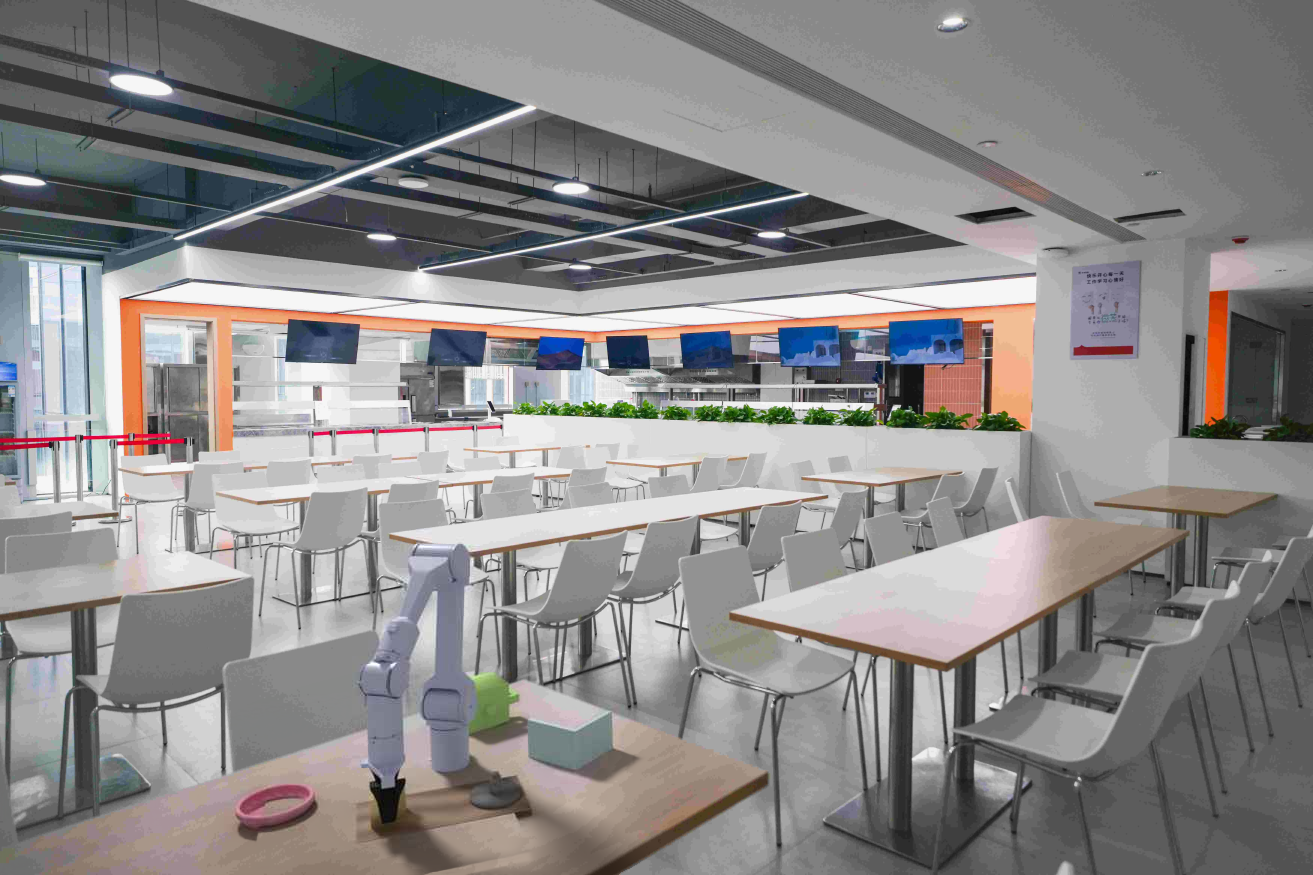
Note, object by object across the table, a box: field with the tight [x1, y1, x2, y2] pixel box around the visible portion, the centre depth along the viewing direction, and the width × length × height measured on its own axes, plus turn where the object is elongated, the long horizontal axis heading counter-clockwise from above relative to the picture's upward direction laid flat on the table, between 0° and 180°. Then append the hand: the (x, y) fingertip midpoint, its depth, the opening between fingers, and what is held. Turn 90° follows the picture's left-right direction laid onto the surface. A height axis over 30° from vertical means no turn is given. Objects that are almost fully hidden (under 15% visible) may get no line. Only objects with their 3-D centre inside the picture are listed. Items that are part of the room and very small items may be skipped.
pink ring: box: [234, 782, 316, 831], centre depth 139 cm, size 12×12×3 cm
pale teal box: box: [527, 710, 614, 771], centre depth 163 cm, size 12×12×8 cm
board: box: [356, 770, 533, 844], centre depth 139 cm, size 14×28×5 cm, turn 110°
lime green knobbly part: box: [468, 671, 520, 735], centre depth 178 cm, size 18×10×10 cm, turn 131°
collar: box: [368, 785, 407, 827], centre depth 136 cm, size 6×6×4 cm
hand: (388, 811), depth 136 cm, fingers open, 6 cm apart
